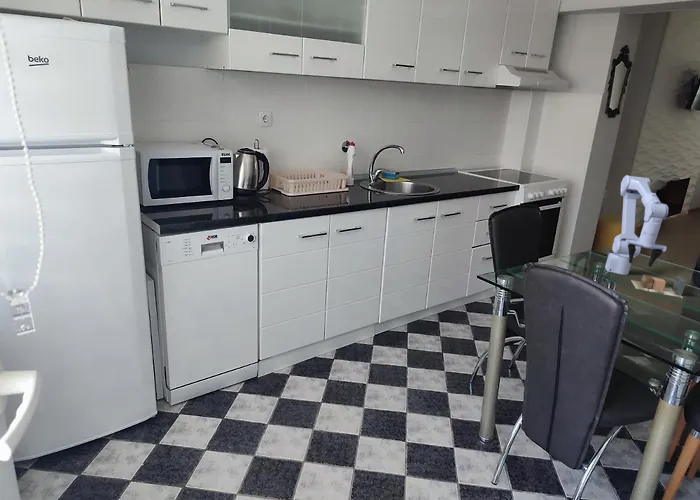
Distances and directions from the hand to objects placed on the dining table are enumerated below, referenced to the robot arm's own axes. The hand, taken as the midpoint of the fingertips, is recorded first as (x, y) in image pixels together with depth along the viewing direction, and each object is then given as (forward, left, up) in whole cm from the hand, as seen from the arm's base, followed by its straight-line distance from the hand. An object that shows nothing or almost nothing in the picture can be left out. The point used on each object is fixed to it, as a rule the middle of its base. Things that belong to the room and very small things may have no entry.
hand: (639, 264), depth 201 cm
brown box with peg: (+5, 0, -9) cm, 10 cm away
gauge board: (+9, 0, -10) cm, 13 cm away
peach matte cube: (+9, 0, -9) cm, 12 cm away
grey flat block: (+16, 0, -10) cm, 19 cm away
